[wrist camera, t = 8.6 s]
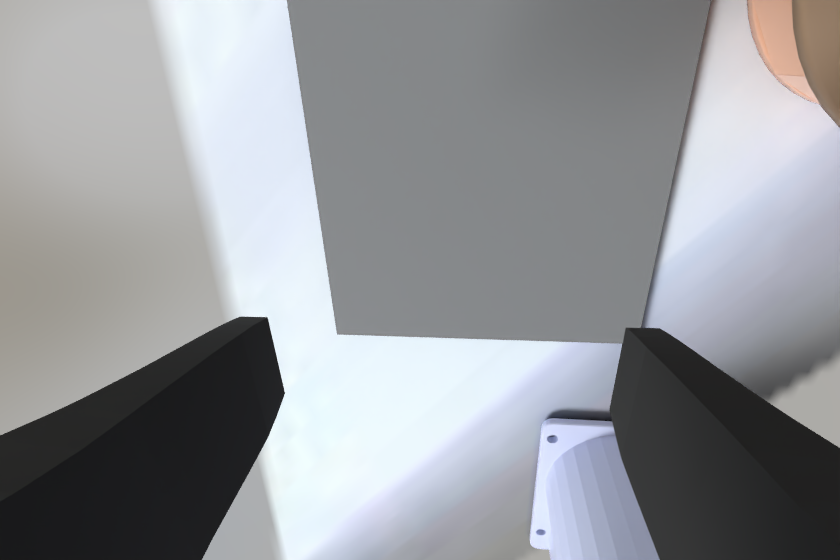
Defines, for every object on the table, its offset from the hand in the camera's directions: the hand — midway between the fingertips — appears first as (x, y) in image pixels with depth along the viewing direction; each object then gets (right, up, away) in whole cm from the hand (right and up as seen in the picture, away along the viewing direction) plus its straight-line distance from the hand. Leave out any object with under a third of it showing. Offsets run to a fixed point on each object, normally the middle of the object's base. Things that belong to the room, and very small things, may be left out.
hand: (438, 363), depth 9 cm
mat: (+2, +5, +8) cm, 10 cm away
